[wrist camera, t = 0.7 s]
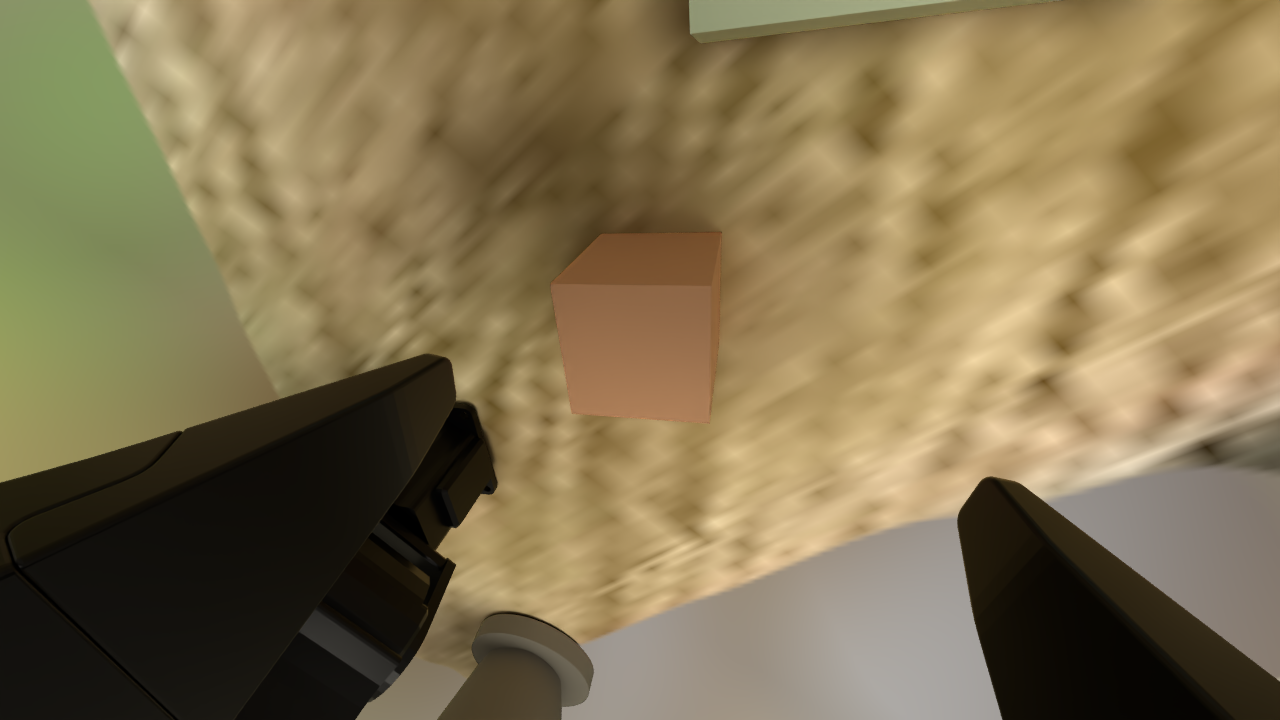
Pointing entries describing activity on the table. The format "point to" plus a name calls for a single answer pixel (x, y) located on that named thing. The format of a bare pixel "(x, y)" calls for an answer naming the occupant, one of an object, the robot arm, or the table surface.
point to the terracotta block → (641, 325)
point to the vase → (521, 673)
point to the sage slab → (815, 14)
